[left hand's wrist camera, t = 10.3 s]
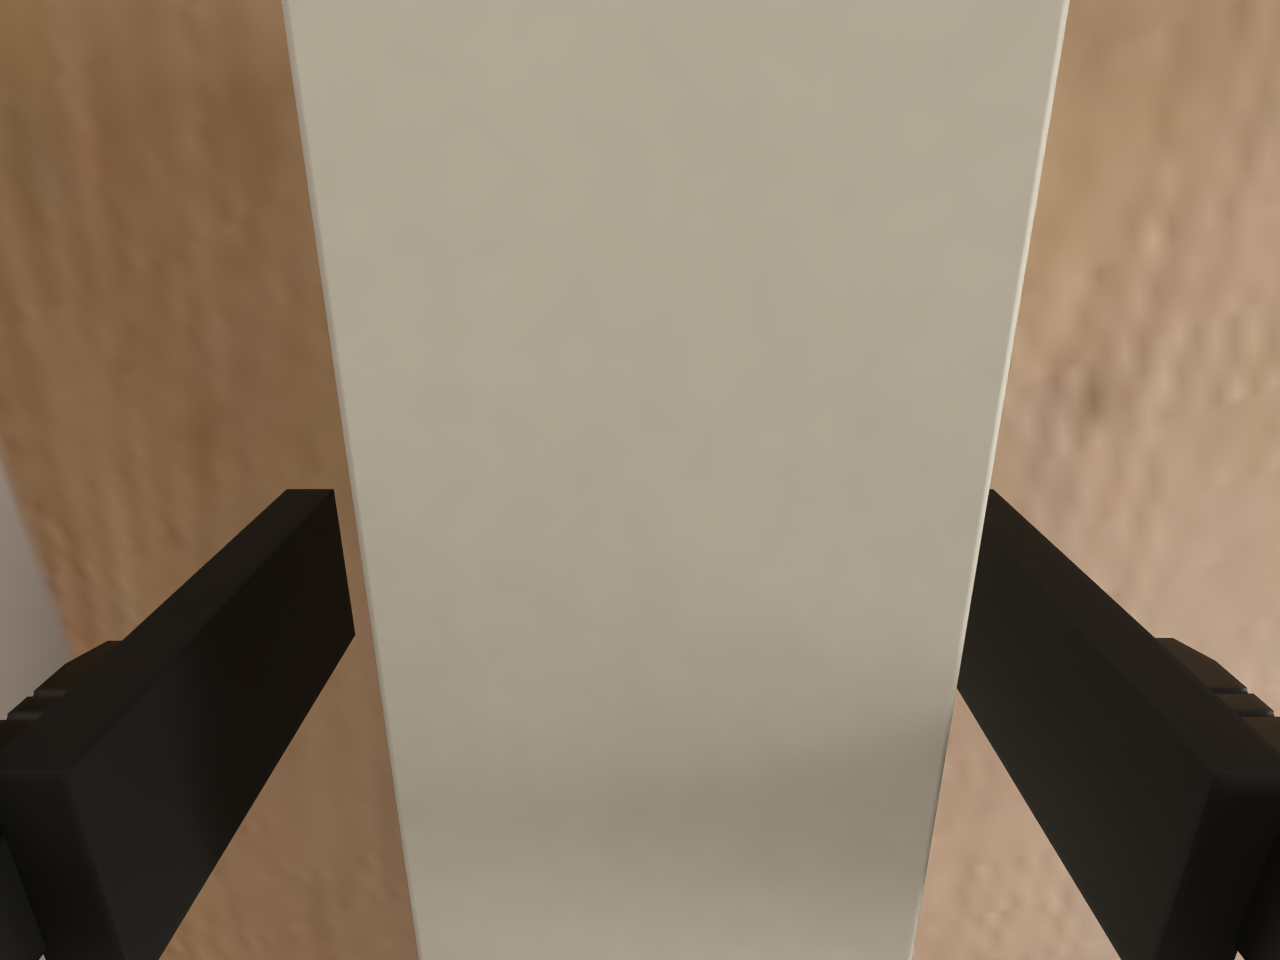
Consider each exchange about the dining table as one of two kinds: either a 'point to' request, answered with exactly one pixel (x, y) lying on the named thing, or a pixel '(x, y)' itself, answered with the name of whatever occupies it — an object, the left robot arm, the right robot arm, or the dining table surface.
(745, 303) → the bar
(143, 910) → the left robot arm
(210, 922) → the dining table surface
